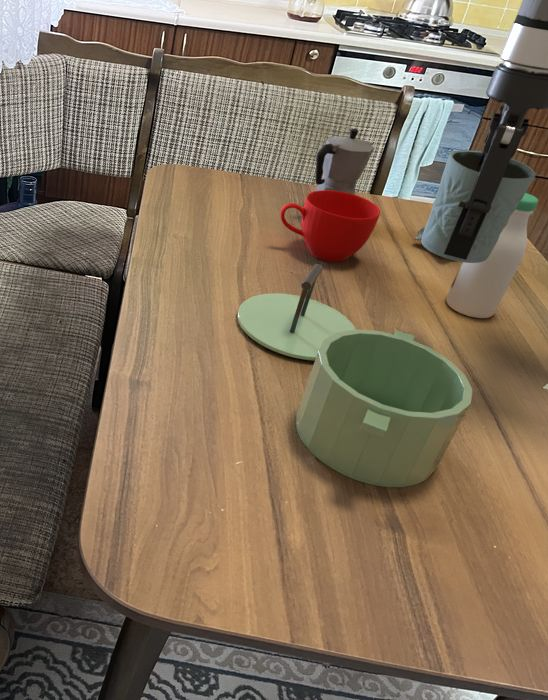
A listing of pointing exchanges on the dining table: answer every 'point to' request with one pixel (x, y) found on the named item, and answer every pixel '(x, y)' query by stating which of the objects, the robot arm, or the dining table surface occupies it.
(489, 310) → the milk bottle
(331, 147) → the coffeepot
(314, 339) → the lid
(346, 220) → the ceramic cup
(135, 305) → the dining table surface
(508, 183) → the blue-grey cylindrical cup
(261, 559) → the dining table surface
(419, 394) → the pot
